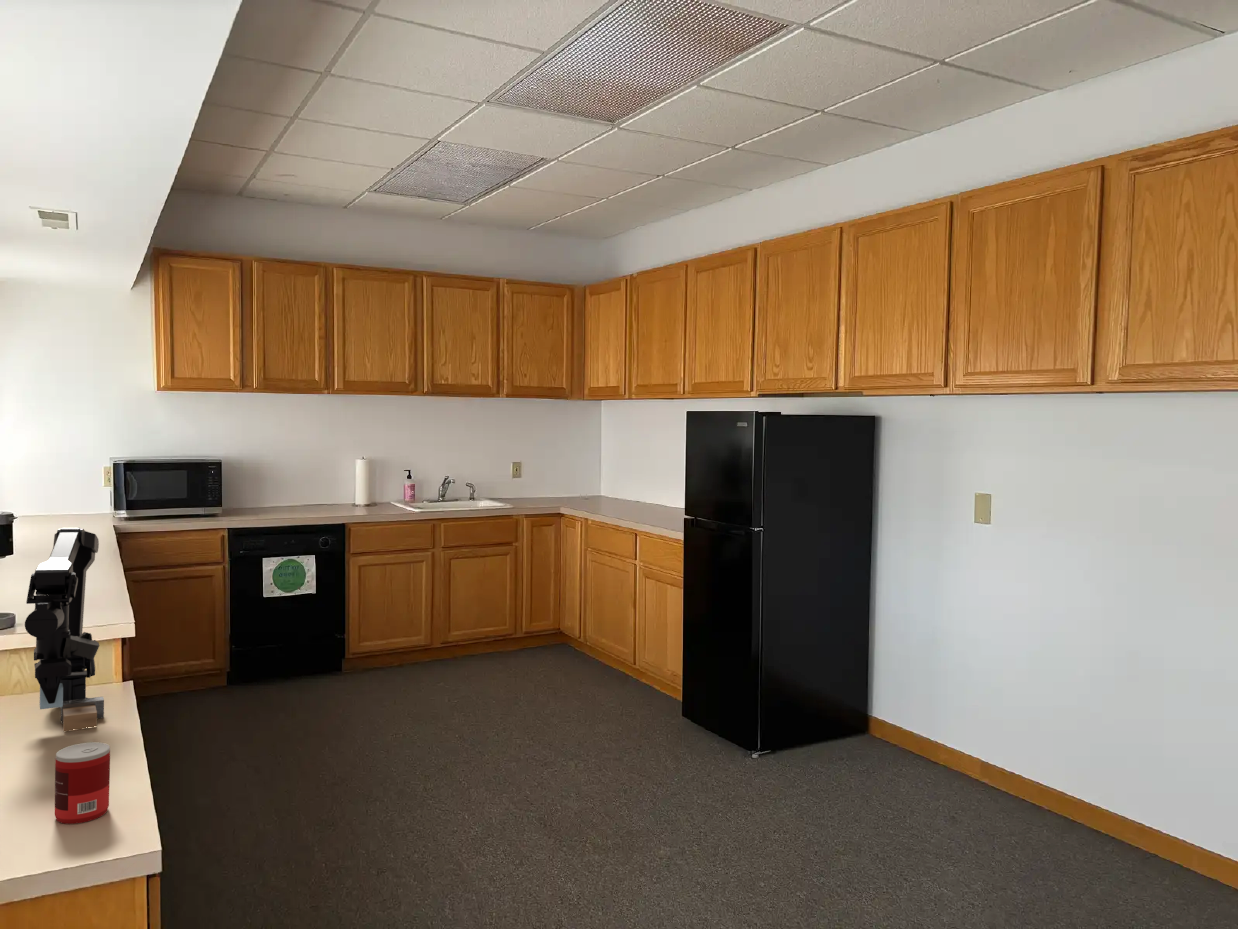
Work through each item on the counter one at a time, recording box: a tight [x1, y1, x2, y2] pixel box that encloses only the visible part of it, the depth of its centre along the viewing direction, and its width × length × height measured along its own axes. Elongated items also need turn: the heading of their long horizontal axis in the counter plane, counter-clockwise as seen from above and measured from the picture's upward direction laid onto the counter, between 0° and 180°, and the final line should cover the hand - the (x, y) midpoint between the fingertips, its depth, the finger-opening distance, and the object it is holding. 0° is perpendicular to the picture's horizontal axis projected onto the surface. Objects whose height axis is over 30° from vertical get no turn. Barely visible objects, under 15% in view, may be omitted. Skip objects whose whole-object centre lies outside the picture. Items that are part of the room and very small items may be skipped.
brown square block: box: [62, 705, 98, 732], centre depth 192 cm, size 6×6×4 cm
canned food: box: [54, 741, 111, 825], centre depth 149 cm, size 8×8×11 cm
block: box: [39, 683, 63, 710], centre depth 187 cm, size 4×4×4 cm
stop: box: [60, 696, 105, 724], centre depth 196 cm, size 3×8×4 cm, turn 124°
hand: (51, 700), depth 187 cm, fingers closed on block, 4 cm apart
